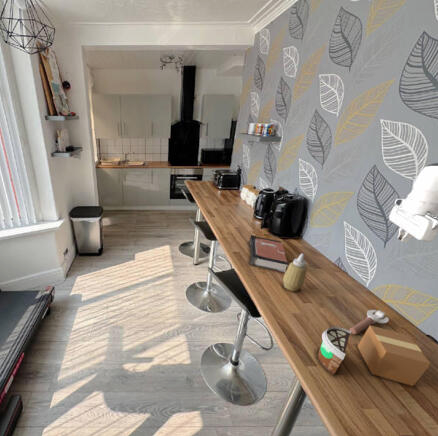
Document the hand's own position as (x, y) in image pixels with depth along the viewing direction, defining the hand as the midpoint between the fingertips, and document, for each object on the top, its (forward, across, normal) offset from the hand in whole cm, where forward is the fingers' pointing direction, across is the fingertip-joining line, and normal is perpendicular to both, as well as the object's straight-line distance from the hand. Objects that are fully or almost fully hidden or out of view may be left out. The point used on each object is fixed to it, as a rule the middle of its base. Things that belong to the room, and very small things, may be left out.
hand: (401, 240), depth 91 cm
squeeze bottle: (+29, -5, +32) cm, 44 cm away
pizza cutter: (+29, -18, +8) cm, 36 cm away
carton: (+29, -36, +11) cm, 48 cm away
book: (+29, +20, +40) cm, 53 cm away
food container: (+29, -40, +28) cm, 57 cm away
